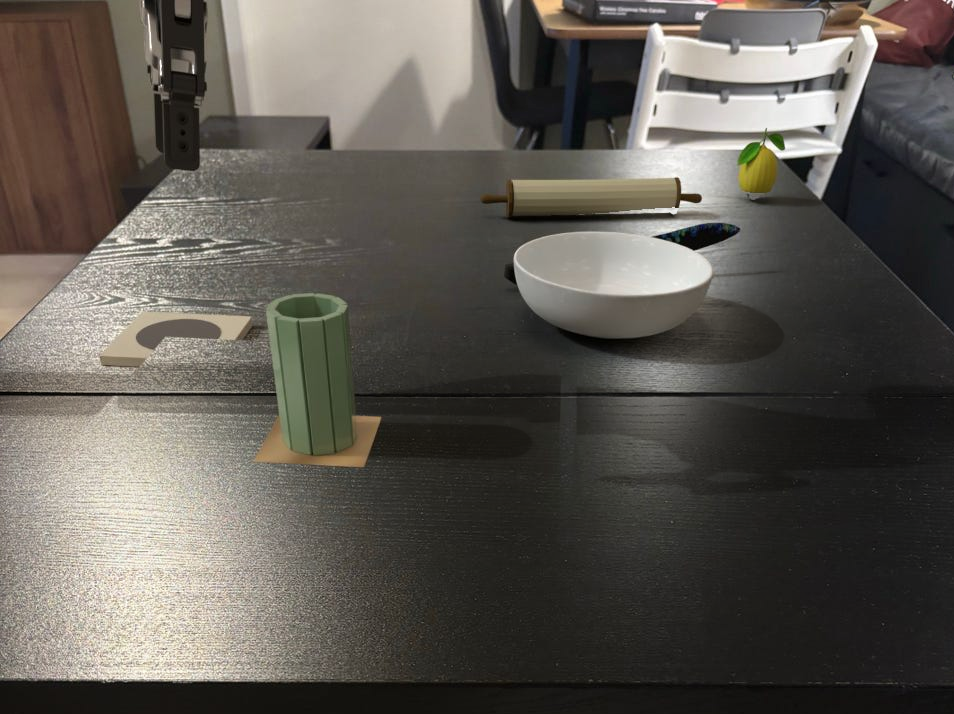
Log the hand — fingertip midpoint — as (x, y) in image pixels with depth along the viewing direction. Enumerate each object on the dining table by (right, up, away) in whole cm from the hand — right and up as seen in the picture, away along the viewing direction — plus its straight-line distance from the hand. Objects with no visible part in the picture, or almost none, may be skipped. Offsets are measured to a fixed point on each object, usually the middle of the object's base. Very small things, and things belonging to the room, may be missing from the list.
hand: (176, 161), depth 65 cm
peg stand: (+8, -17, +14) cm, 24 cm away
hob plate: (-10, -3, +31) cm, 33 cm away
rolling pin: (+37, +28, +70) cm, 84 cm away
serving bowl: (+35, +1, +38) cm, 51 cm away
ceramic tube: (+8, -16, +13) cm, 22 cm away
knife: (+39, +11, +49) cm, 63 cm away
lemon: (+63, +34, +78) cm, 106 cm away
